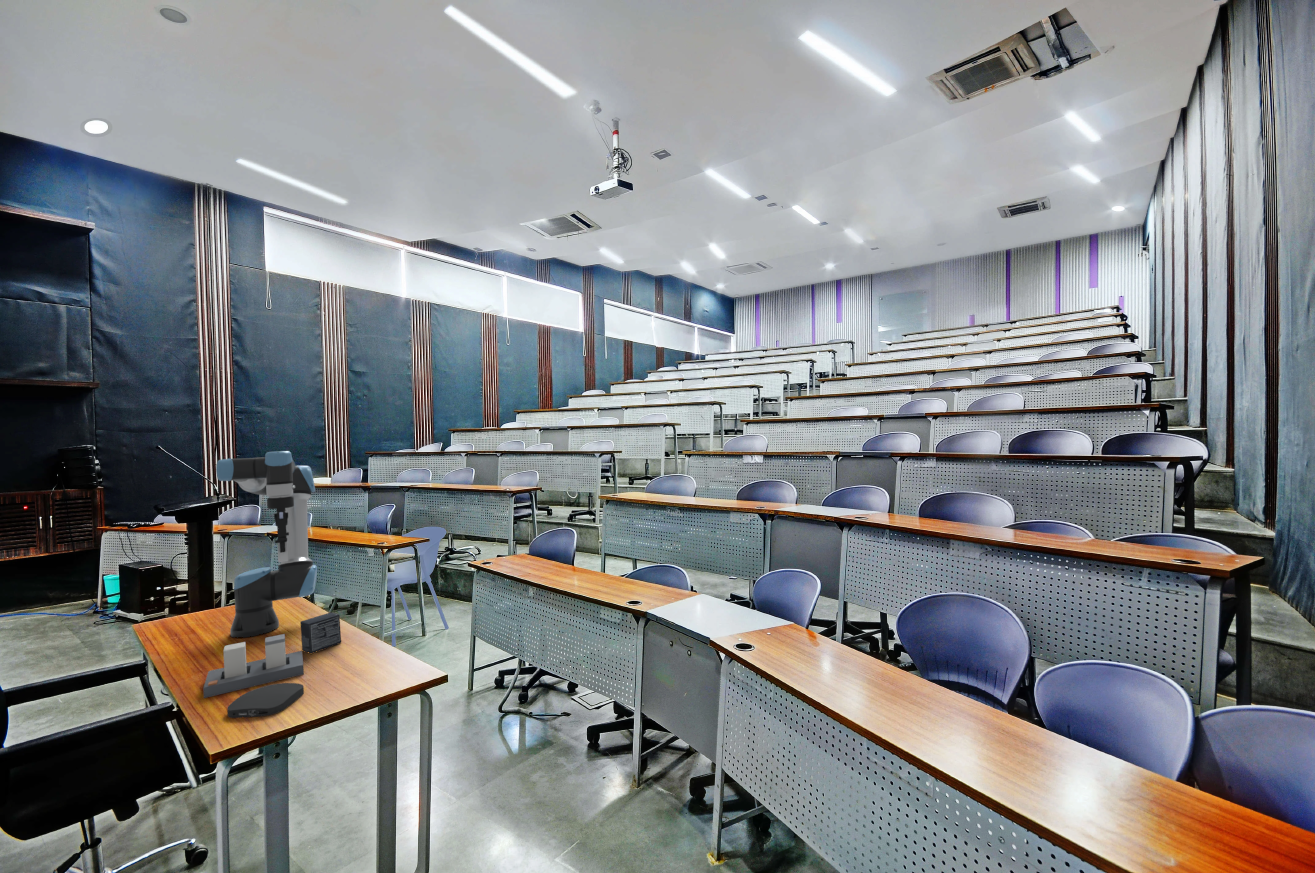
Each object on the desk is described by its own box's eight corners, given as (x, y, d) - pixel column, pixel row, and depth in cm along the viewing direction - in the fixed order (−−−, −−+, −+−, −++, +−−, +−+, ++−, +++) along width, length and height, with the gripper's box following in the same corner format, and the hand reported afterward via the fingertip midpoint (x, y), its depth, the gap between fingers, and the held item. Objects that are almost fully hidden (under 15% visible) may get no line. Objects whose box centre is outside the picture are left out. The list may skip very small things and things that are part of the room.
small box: (332, 640, 198) (330, 611, 198) (342, 643, 195) (340, 613, 195) (300, 650, 189) (299, 620, 189) (310, 654, 186) (309, 623, 185)
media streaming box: (309, 690, 159) (309, 680, 159) (277, 716, 144) (276, 705, 144) (258, 693, 158) (257, 683, 158) (220, 720, 144) (219, 708, 144)
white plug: (267, 672, 172) (265, 637, 172) (286, 667, 175) (284, 633, 175) (266, 677, 168) (265, 642, 168) (286, 673, 171) (284, 638, 171)
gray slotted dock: (209, 680, 167) (207, 644, 167) (302, 659, 181) (300, 626, 181) (203, 698, 156) (202, 659, 156) (303, 674, 169) (302, 638, 169)
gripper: (294, 498, 178) (297, 562, 178) (292, 492, 199) (295, 550, 199) (266, 500, 174) (269, 566, 174) (267, 494, 194) (270, 553, 195)
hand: (283, 558), depth 187 cm, fingers open, 13 cm apart
